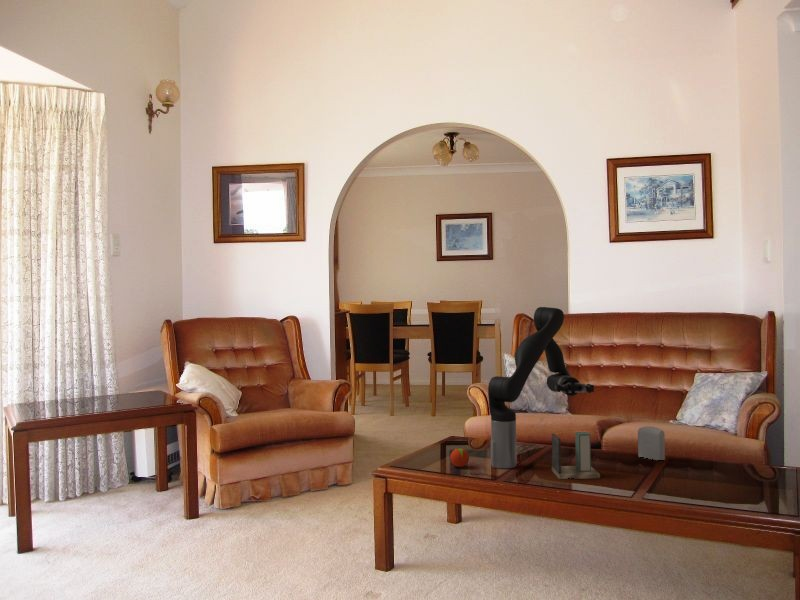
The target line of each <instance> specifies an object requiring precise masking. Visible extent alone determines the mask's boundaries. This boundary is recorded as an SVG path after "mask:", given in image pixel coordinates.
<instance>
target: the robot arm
mask: <svg viewBox="0 0 800 600" xmlns="http://www.w3.org/2000/svg"><path fill="white" fill-rule="evenodd" d="M564 321H565V314H564V311H563V310H562V309H560V308H556V307H547V306H539V307H537V308H536V309H535V310H534V314H533V323H534V327H535V329H536V332H534V333H532V334H529V335H528V336H527V337H525V338H524V339H522V341H521V342H520V344H519V345H518V347H517V349H516V350H515V352H514V362H515V367H516V369H515V370H514V372H513V374H512V375H511V376H492V377H491V378H490V380H489V381H488V387H487V394H488V395H487V396H488V411H489V415H490V427H491V428H490V432H491V434H490V435H491V436H490V438H491V439H490V465H491V466H492V468H493V469H494V468H496V469H513V468H516V467H517V464H518V463H517V462H518V461H517V414H516V412H515V411H514V410H512V409H511V408H509V407H508V406H507V405H506V403H513V402H515V401H517V400H518V398H519V397H520V395H521V393H522V391H523V389H524V387H525V384H526V382H527V380H528V378H529V376H530V374H531V373H532V371H533V369H534V368H535V366H536V364H537V363H538V361H540V358H541V356H542V355H543V353H545V358H546V363H547V369H548V370H549V371H550V372H551V373H553V374H550V375H548V376H547V379H546V385H547V388H548V389H549V391H550V390H551V392H555V393H557V392H558V393H562V394H565V395H566V396H569V397H574V396H576V395H578V394H579V393H581V394H583V393H588V394H590V393H595V385H594V384H590V383H587V384H585V383H581V382H580V381H579V380H578V378H576V377H574V376H571V374H570V373H569V371H568V369H567V366H566V364H565V363H566V362H565V359H564V353H563V351H562V349H561V347H560V346H559V344H558V342H556V341H555V339H554V337H555V336H556V334H558V332H559V331H560V330H561V328H562V326H563V324H564Z"/></svg>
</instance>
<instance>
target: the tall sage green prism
mask: <svg viewBox="0 0 800 600" xmlns="http://www.w3.org/2000/svg"><path fill="white" fill-rule="evenodd" d="M574 434H575V435H574V436H575V437H574V438H575V441H574V442H575V466H576V469H577V470H578V471H579V472H591V467H592V457H591V455H592V451H591V444H592V442H591V441H592V440H591V433H590V432H588V431H575V432H574Z"/></svg>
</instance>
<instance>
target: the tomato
mask: <svg viewBox="0 0 800 600" xmlns="http://www.w3.org/2000/svg"><path fill="white" fill-rule="evenodd" d="M469 456H470V455H469V453H468V451H467V450H466V449H464V448H461V447H458V448H455V449H454V450H452V452H451V453H450V462H451V463H452V465H454V466H455V467H456V468H463V467H465V466H467V464H468V463H469V461H470V457H469Z"/></svg>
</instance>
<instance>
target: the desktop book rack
mask: <svg viewBox="0 0 800 600" xmlns="http://www.w3.org/2000/svg"><path fill="white" fill-rule="evenodd" d="M561 450H562V448H561V438H560V437H559V436H558V435H556V434H555V433H551V460H552V461H551V465H552V466H551V471H552V472H553V474H554V475H555V476H556V477H557V478H558V479H559V480H561V479H562V480H569V479H568V478H570V480H572V479H571V478H574V479H575V480H577V479H578V480H579V479H580V480H581V479H582V480H584V479H601V474H600V473H599V472H598V471H597V470H596V469H595V468H594V467H592V466H591V472H579V471H578V470H577V469H576V465H565V466H563V465H562V459H561V458H562V457H561V455H562V454H561V452H562V451H561ZM574 479H573V480H574Z"/></svg>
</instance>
